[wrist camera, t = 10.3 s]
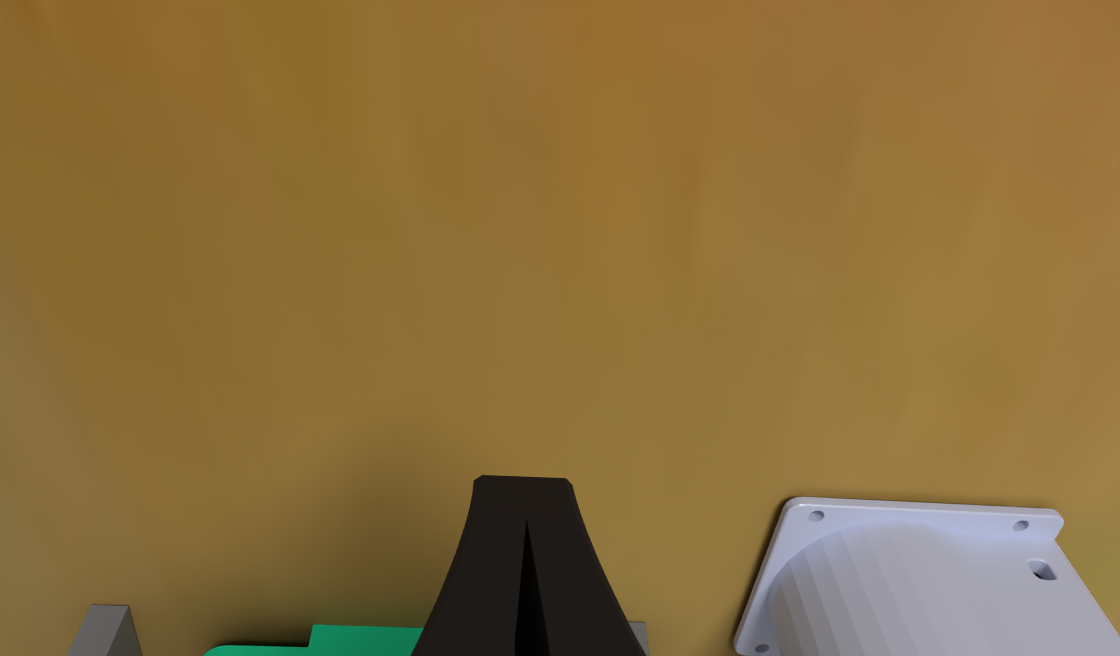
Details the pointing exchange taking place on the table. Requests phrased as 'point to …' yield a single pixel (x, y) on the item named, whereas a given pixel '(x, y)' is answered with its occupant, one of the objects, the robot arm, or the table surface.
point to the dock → (112, 647)
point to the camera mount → (337, 643)
